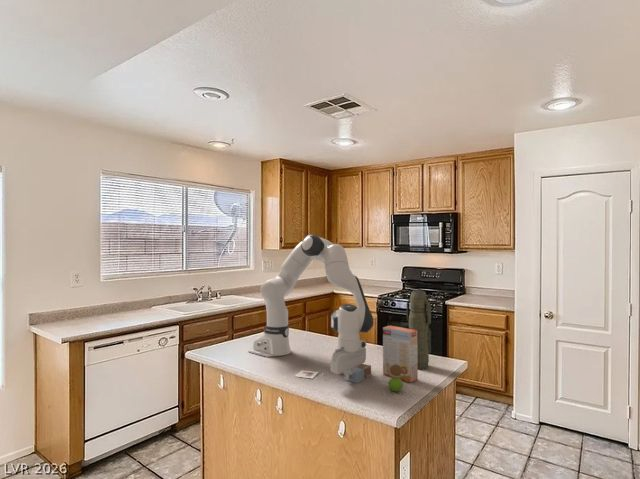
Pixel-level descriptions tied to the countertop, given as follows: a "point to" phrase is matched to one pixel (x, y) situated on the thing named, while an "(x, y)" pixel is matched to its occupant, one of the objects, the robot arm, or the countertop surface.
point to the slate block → (356, 375)
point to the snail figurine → (394, 377)
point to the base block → (365, 369)
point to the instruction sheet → (306, 374)
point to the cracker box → (400, 351)
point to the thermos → (420, 324)
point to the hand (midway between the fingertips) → (348, 378)
